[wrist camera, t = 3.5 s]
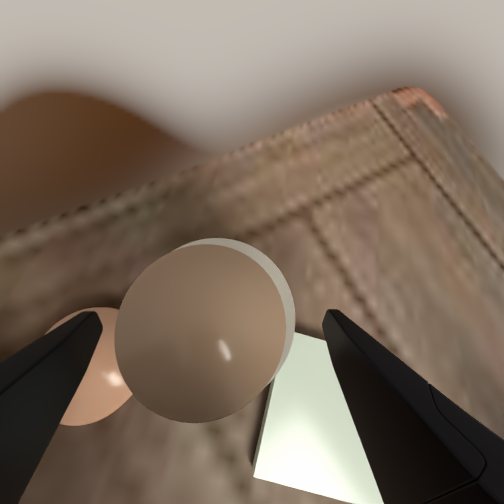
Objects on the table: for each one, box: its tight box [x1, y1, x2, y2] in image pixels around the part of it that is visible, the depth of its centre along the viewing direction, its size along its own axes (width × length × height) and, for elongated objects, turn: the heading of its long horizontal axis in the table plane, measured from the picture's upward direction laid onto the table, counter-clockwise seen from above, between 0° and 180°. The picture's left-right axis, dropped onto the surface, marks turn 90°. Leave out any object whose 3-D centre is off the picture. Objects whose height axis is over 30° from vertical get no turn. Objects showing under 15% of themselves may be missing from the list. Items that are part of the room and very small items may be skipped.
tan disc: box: [46, 307, 133, 426], centre depth 14 cm, size 7×7×1 cm
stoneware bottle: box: [114, 238, 295, 423], centre depth 10 cm, size 5×5×13 cm
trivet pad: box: [252, 332, 384, 504], centre depth 15 cm, size 9×9×1 cm
